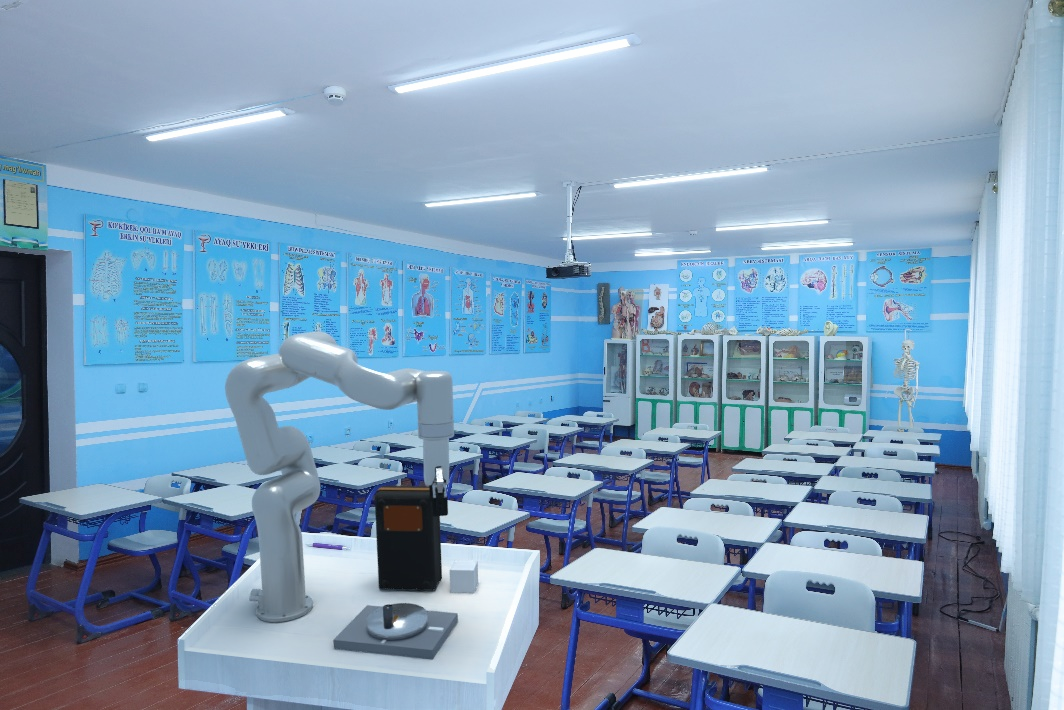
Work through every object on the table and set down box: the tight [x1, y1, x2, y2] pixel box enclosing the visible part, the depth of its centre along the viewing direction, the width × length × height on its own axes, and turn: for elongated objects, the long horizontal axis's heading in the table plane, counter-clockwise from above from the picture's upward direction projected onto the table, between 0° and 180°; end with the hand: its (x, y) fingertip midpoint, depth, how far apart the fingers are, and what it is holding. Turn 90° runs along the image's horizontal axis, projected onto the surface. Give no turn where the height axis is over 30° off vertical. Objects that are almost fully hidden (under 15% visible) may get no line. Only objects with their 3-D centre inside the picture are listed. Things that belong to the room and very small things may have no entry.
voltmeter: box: [374, 485, 443, 591], centre depth 178 cm, size 16×9×25 cm, turn 84°
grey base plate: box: [332, 604, 459, 660], centre depth 155 cm, size 22×16×2 cm
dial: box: [367, 602, 428, 640], centre depth 154 cm, size 13×13×6 cm
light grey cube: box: [449, 559, 479, 594], centre depth 177 cm, size 6×6×6 cm
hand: (438, 508), depth 152 cm, fingers open, 9 cm apart
